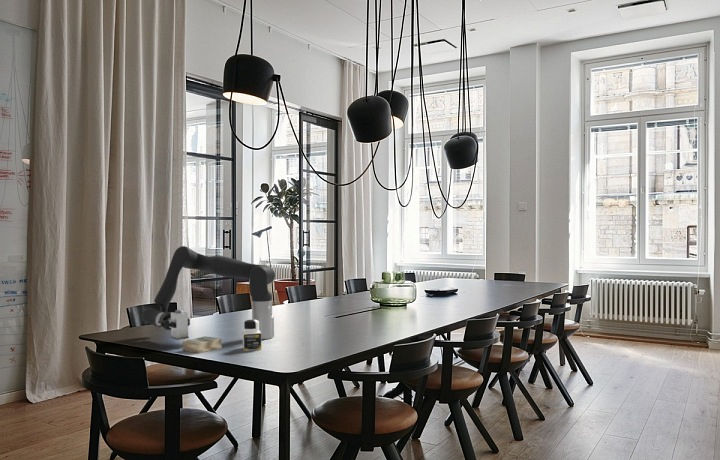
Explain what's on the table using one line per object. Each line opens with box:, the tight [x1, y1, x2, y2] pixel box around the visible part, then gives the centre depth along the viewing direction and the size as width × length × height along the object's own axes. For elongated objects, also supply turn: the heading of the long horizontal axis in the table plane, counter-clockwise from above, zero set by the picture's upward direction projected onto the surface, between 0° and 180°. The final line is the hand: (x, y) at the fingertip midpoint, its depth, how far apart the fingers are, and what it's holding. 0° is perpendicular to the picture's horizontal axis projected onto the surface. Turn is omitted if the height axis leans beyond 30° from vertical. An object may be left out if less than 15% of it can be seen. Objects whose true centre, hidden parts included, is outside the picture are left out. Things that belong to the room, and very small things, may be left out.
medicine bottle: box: [242, 319, 262, 352], centre depth 243 cm, size 7×7×12 cm
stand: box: [182, 336, 223, 354], centre depth 243 cm, size 12×10×4 cm
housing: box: [170, 309, 190, 341], centre depth 250 cm, size 7×5×12 cm
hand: (181, 324), depth 248 cm, fingers closed on housing, 5 cm apart
